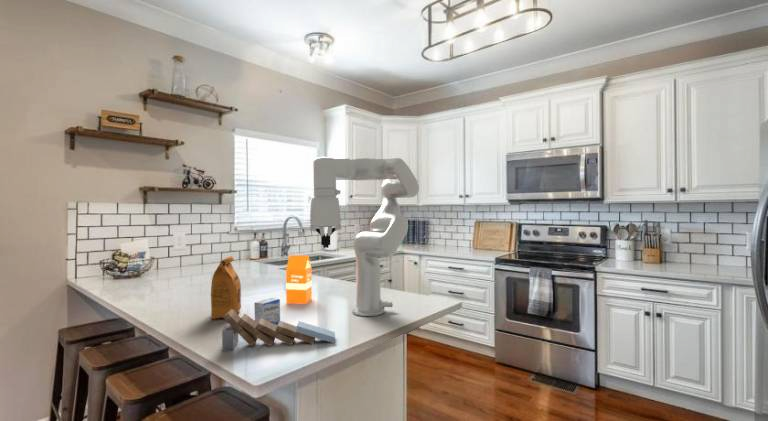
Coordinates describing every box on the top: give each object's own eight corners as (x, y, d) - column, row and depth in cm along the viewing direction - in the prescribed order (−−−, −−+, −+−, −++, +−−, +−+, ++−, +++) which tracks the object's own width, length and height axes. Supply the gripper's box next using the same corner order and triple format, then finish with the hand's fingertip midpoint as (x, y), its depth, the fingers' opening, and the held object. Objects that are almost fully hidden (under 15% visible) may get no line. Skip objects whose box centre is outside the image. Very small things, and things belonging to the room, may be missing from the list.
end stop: (238, 341, 120) (238, 322, 120) (233, 350, 113) (232, 329, 113) (228, 342, 120) (228, 322, 120) (222, 350, 113) (222, 330, 113)
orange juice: (292, 298, 173) (292, 254, 173) (311, 299, 172) (311, 254, 171) (286, 303, 165) (285, 256, 165) (305, 303, 164) (305, 256, 164)
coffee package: (245, 310, 154) (244, 255, 154) (234, 320, 142) (233, 260, 141) (220, 310, 154) (219, 255, 153) (206, 320, 141) (206, 260, 141)
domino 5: (333, 343, 119) (295, 331, 117) (332, 337, 124) (296, 326, 122) (335, 337, 119) (297, 326, 117) (334, 332, 124) (298, 321, 122)
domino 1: (258, 336, 120) (231, 308, 119) (255, 342, 115) (227, 313, 114) (253, 340, 120) (227, 312, 119) (250, 346, 115) (223, 317, 114)
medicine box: (263, 329, 132) (262, 303, 132) (254, 326, 134) (254, 302, 134) (280, 322, 139) (280, 298, 139) (271, 320, 141) (271, 297, 141)
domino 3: (295, 334, 122) (260, 317, 120) (294, 340, 117) (258, 322, 115) (292, 339, 122) (258, 323, 120) (291, 345, 117) (255, 328, 115)
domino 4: (315, 333, 123) (279, 320, 121) (315, 338, 118) (277, 325, 116) (313, 338, 123) (277, 325, 121) (312, 344, 118) (275, 331, 116)
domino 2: (275, 336, 121) (244, 313, 119) (273, 341, 116) (241, 318, 114) (272, 340, 121) (241, 318, 119) (269, 346, 116) (237, 323, 114)
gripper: (345, 193, 137) (346, 245, 138) (302, 194, 134) (303, 246, 135) (348, 193, 130) (349, 248, 130) (302, 193, 126) (303, 249, 127)
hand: (325, 247), depth 132 cm, fingers closed
